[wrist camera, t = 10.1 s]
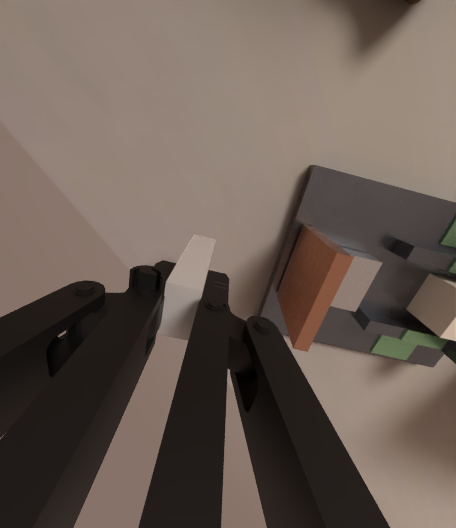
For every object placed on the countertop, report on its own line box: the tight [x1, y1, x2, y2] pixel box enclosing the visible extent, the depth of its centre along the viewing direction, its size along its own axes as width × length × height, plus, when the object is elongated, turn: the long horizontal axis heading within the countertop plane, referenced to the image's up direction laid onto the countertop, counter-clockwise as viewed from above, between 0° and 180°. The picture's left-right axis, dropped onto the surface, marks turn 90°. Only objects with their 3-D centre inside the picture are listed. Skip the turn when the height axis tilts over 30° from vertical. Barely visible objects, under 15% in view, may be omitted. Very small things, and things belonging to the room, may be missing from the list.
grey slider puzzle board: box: [257, 165, 456, 367], centre depth 19 cm, size 20×16×7 cm
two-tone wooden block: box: [277, 224, 382, 352], centre depth 17 cm, size 6×7×7 cm
